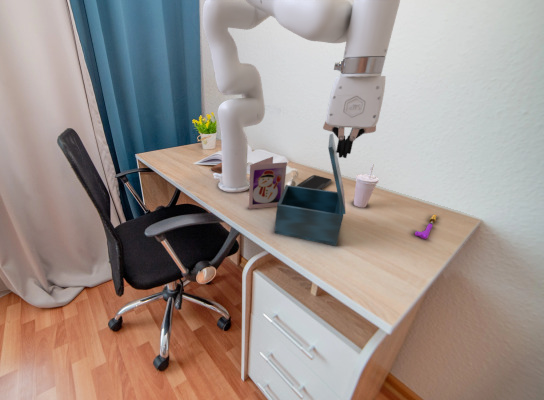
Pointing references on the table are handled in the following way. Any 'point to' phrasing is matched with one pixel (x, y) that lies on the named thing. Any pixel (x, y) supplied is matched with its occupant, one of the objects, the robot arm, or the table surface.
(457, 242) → the table surface
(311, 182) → the phone
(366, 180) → the smoothie
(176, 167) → the table surface
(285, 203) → the keepsake box
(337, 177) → the lid
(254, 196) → the greeting card
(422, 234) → the purple bent handle tool
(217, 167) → the sunglasses case
